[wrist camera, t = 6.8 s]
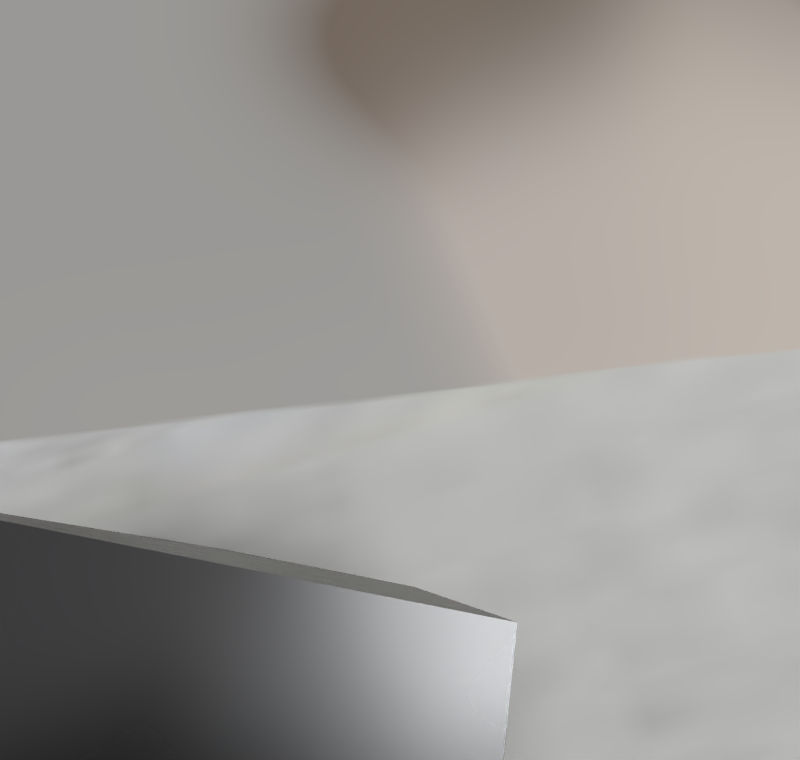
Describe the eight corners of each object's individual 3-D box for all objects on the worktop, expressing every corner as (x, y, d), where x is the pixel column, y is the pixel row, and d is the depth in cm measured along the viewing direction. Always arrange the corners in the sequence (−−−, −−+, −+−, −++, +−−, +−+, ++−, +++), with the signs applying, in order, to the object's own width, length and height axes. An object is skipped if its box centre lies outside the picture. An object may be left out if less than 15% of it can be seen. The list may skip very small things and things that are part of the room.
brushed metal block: (376, 818, 13) (364, 2104, 2) (162, 773, 14) (-907, 1761, 2) (414, 586, 15) (518, 623, 4) (225, 549, 15) (-199, 480, 4)
